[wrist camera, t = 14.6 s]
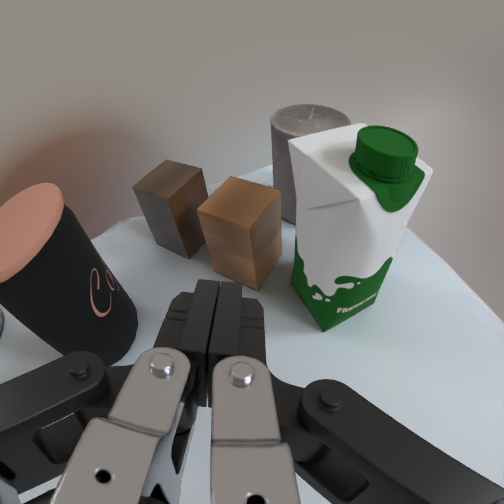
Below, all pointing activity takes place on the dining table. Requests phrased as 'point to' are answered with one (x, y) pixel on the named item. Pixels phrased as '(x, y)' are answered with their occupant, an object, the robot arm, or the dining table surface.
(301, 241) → the milk carton
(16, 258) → the coffee jar
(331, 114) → the pillar candle
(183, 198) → the walnut block
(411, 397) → the dining table surface
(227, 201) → the oak block
